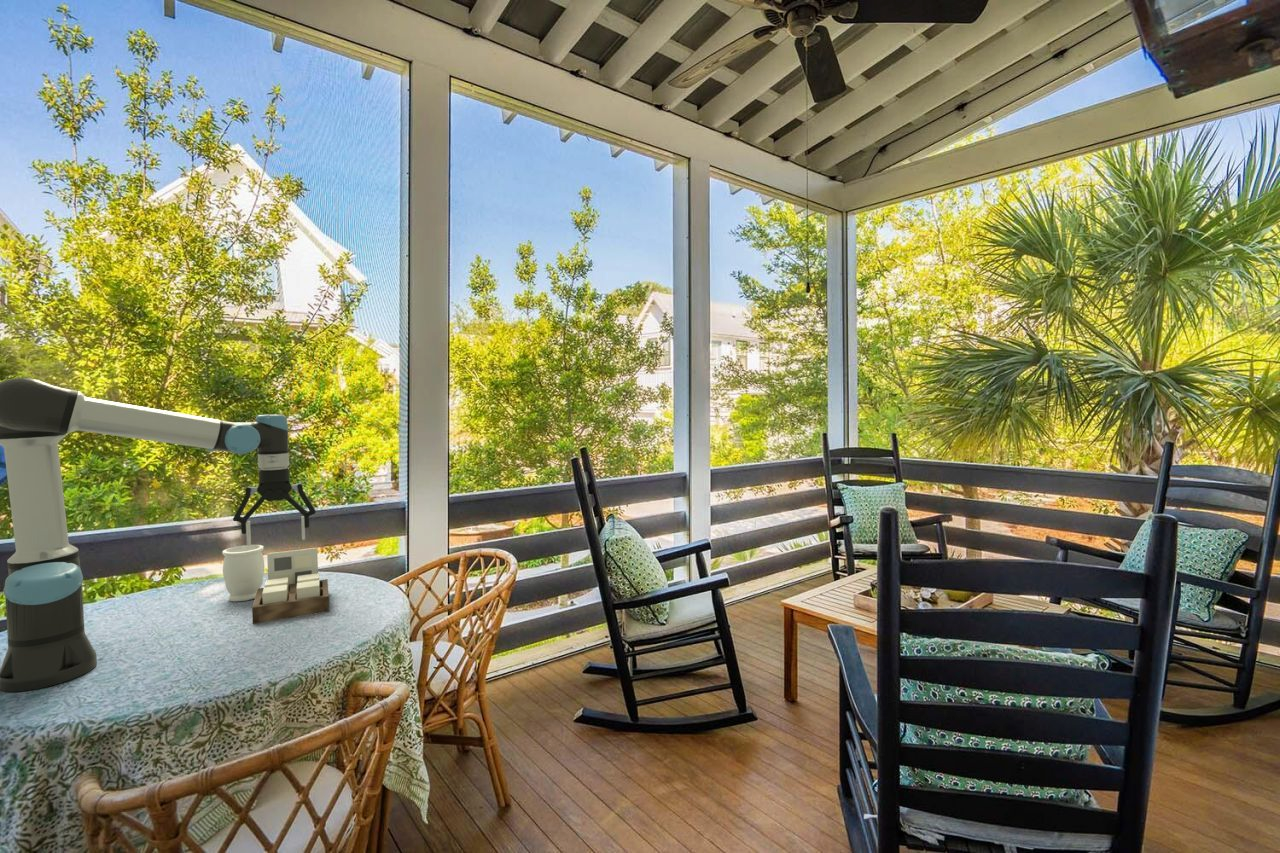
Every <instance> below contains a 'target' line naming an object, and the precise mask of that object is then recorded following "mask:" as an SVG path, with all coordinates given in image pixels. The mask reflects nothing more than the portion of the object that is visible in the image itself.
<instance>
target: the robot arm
mask: <svg viewBox="0 0 1280 853" xmlns="http://www.w3.org/2000/svg"><path fill="white" fill-rule="evenodd" d="M255 418H256V419H255V421H251V422H234V421H227V420H220V419H215V418H209V417H204V416H203V417H202V416H198V415H197V416H196V415H191V414H188V413H187V414H186V413H180V412H174V411H169V410H163V409H158V408H151V407H147V406H141V405H140V406H139V405H134V404H129V403H127V404H126V403H122V402H116V401H110V400H105V399H99V398H98V399H97V398H94V397H93V398H92V397H87V396H86V395H85V394H83V393H82V392H81V391H79V390H78V391H77V390H75V389H74V390H73V389H68V388H64V387H59V386H56V385H52V384H49V383H48V382H45V381H42V380H39V379H35V378H29V377H17V378H16V377H15V378H9V379H6V380H3V381H1V382H0V446H1V447H2V448H3V450H4V452H3V453H4V459H5V467H6V468H5V469H6V470H5V471H6V478H7V486H8V494H9V503H10V512H11V518H12V527H13V537H14V544H15V545H14V546H15V552H14V553H13V554H12V555H11V556H10V557H9V558H8V559H7V570H8V576H7V577H6V579H5V581H4V587H3V590H2V591H3V595H4V597H5V612H6V616H5V617H6V631H7V651H6V653H5V656H4V659H3V661H2V663H1V667H0V691H3V692H9V693H10V692H12V693H13V692H14V693H15V692H26V691H32V690H37V689H42V688H46V687H51V686H55V685H59V684H61V683H65V682H67V681H70V680H71V681H72V680H73V679H74V680H75V679H77V678H79V677H80V676H83V675H85V674H87V673H89V672H91V671H92V670H93V669H94V668H95V667H96V666H97V665H98V661H97V660H98V658H97V657H98V656H97V653H96V651H95V648H94V647H93V646H92V644H91V641H90V640H89V638H88V636H87V633H86V632H85V619H84V618H85V615H84V614H85V613H84V597H83V596H84V595H83V582H84V576H83V572H82V569H81V568H82V567H81V561H80V553H79V548H78V547H76V546H75V545H72V544H70V542H69V534H68V533H69V531H68V525H67V524H68V523H67V517H66V516H67V514H66V506H65V496H64V495H65V494H64V487H63V479H62V478H63V476H62V468H61V459H60V452H59V442H61V441H62V440H64V438H65V437H67V434H71V433H73V432H76V431H77V432H78V431H79V432H88V433H94V434H103V435H108V436H115V437H121V438H122V437H123V438H129V439H137V440H138V439H139V440H143V441H151V442H159V443H166V444H172V445H182V446H188V447H195V448H202V449H206V450H207V451H209V452H229V453H233V454H237V455H238V454H239V455H244V454H249V453H251V452H254V451H255V450H256V449H257V464H258V465H257V467H258V469H259V470H258V486H256V487H254V486H251V485H250V486H246V488H245V492H244V493H245V495H244V497H243V499H242V501H241V502H240V505H239V506H238V508H237V511H236V512H235V514H234V515H233V518H232V521H234V522H238V523H240V528H241V529H240V530H241V531H240V532H241V534H242V535H245V536H246V537H245V538H246V545H247V546H250V545H252V536H251V521H250V520H249V518H250V517H251V516H252V515H253V514H254V513H255V512H256V510H257V509H258V508H260V506H261V505H262V504H263V503H264V502H265V501H267V502H274V501H283V500H286V501H287V502H288V503H289V504H290V505H291V506H292V507H293V508H294V509H296V510H297V511H298V512H299V513H300V514H301V518H300V521H301V522H300V524H301V540H302V541H305V540H306V528H309V527H310V516H313V515H315V514H316V508H315V507H314V505H313V503H312V502H311V500H310V499H309V497H308V495H307V494H306V492H305V491H304V487H303V483H301V482H298V483H296V484H291V479H290V469H289V468H288V467H289V466H290V452H289V427H288V426H289V425H288V418H287V416H285V414H259V415H256V417H255ZM291 490H294V491H295V492H296V493H298V495H299V496H300V498H301V500H302V502H303V503H304V504H305V506H306V507H307V509H308V510H306V509H305V508H304V507H303V506H302V505H301V504H300V503H299V502H298V501H297V500H296V499H294V498H293V497H292V495H290V492H291ZM256 492H257V493H258V494H259V495H260V498H259V499H258V500H257V501H256V502H255V503H254V504H253V505H252V507H250V509H249V510H248V511H247V512H246V513H245V515H244V516H241V515H242V513H243V511H244V509H245V508H246V506H247V504H248V501H249V500H250V498H251V496H253V495H254V494H255V493H256Z"/></svg>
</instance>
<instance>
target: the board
mask: <svg viewBox="0 0 1280 853" xmlns="http://www.w3.org/2000/svg"><path fill="white" fill-rule="evenodd" d="M328 581H329V580H328V579H327V578H326V579H325V578H324V579H319V585H320V596H317V597H310V598H303V599H297V583H296V584H289V592H288V600H287V601H283V602H276V603H270V604H263V599H262V593H263V589H264V588H265V587H260V589H258V590H257V593H256V597H255V598H254V600H253V604H252V607H251V610H252V612H251V614H252V624H253V625H254V624H255V625H256V624H261V623H268V622H273V621H279V620H285V619H292V618H298V617H303V616H304V615H305V616H310V614H311V615H315V614H316V613H317V614H322V613H328V612H330V596H329V595H330V594H329V583H328ZM297 616H298V617H297ZM305 616H304V617H305Z"/></svg>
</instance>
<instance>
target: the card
mask: <svg viewBox="0 0 1280 853" xmlns="http://www.w3.org/2000/svg"><path fill="white" fill-rule="evenodd" d="M266 557H267V558H266V559H267V580H271V579H278V578H286V577H288V582H289V584H296V583H297V578H298V576H301V575H308V574H316V573H319V566H318V564H319V561H318V558H319V557H318V547H311V548H304V549H295V550H294V549H293V550H287V551H278V552H276V551H274V552H268V553H267V554H266Z"/></svg>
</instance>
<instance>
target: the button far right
mask: <svg viewBox="0 0 1280 853" xmlns="http://www.w3.org/2000/svg"><path fill="white" fill-rule="evenodd" d="M317 580H320V572H318V573H316V574H308V575H301V576H298V578H297V583H302V582H309V581H317ZM319 586H320V585H319Z"/></svg>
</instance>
